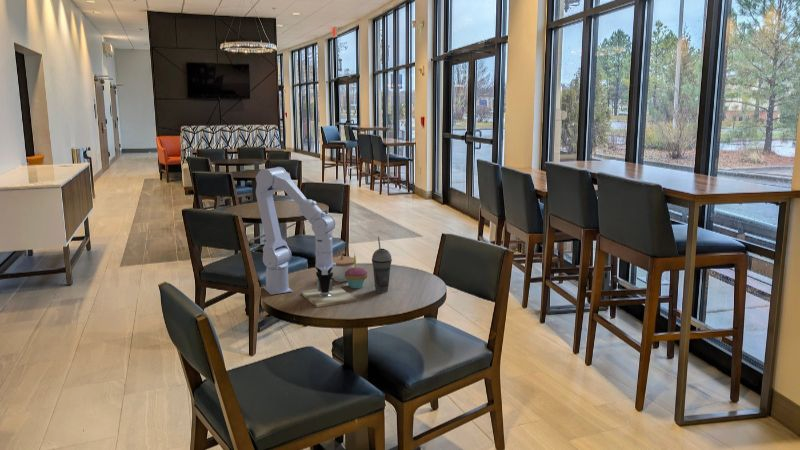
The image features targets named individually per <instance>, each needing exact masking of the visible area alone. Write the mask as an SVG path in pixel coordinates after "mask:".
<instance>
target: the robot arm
mask: <svg viewBox="0 0 800 450" xmlns="http://www.w3.org/2000/svg"><path fill="white" fill-rule="evenodd" d="M255 182H256V188H255V196H256V202H257V206H258V210H259V214H260V219H261V223H262V228H263V233H264V236H265V238H264V239H265V244H264V246H263V247H262V251H263V252H262V253H263V255H262V262H263V264H264V266H265V268H266V269H265V286H263V289H264V290H265V291H266V292H267V293H268V294H269V295H279V294H284V293H285V294H286V293H292V292H293V289H291V288H290V286H289V264H290V263H289V262H290V261H291V259H292V258H293V257H292V251H291V249H290V248H289V246H288V243H287V241H286V240H285V239H284V238H282V234H281V228H280V223H279V219H278V215H277V211H276V205H275V201H274V194H275V193H276V191H277V190H281V191H284V192H285V194H287V195H288V196H289V197H290V198H291V199H292V201H294V203H296V204H297V205H298V207H299V208H298V210H299V211H298V212H300V213H301V215H302V216H304V218H305V219H306V220H307V221H308V222H309V223H310V224H311V230H312V232H313V233H314V238H315V264H314V265H315V267H316V268H315V270H316V272H315V273H316V275H315V276H316V277H317V280H318V279H319V282H320V286H321V291H322V292H328V290H329V284H330V280H332V278H333V277H332V276H333V273H330V272H331V270H332V267H333V266H336V263H333V257H334V256H333V255H334V254H333V231H334V229H335V228H336V222H335V219H334V217H333V216H331V214H326V212H325V211H323V210H322V209H321V208H320V207H319V205H318V204H317V203H318V202H317V201H316V200H313V199H309V198H308V199H307V197H306V196H305V195H304V194H303V192H302V191H301V190H300V188H299V187H298V186H297V185H296V184H295V182H294V181H293V180H292V178H291V175H290V173H289V172H287V171H286V169H285V168H284V167H281V166H277V167H271V168H262V169H261V170H259V171H258V173H257V174H256V176H255Z"/></svg>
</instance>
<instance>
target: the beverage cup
mask: <svg viewBox="0 0 800 450" xmlns="http://www.w3.org/2000/svg"><path fill="white" fill-rule="evenodd" d="M380 240H381V239H380V236H377V242H378V249H376V250H375V251H374V252H373V253H372V255H371V256H372V257H371V263H372V264H371V265H372V269H373V280H374V290H375V292H376V293H378V292H379V294H385V293H387V292H388V291H389V284H390V274H391V266H392V261H393V259H392V255H391V253H390V251H389V250H388V249H386V248H382V247H381V241H380Z"/></svg>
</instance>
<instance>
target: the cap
mask: <svg viewBox="0 0 800 450" xmlns="http://www.w3.org/2000/svg"><path fill="white" fill-rule="evenodd" d="M332 287H333V280H332V279H331V280H330V284H329V290H328V291H331V290H333V288H332ZM316 289H317V290H318V291H319V292H322V291H321V286H320V282H319V279H318V278H317V279H316Z"/></svg>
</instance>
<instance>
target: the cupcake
mask: <svg viewBox="0 0 800 450" xmlns="http://www.w3.org/2000/svg"><path fill="white" fill-rule="evenodd" d="M353 254H354V256H353V258H354V268H350V269H348V270H347V271H346V272H345V278H346V279H347V281H346V282H347V283H348V286H349V288H350V289H360V288H361V289H362V287H363V285H364V282H365V280H366V279H368V271H366V270H365V268H362V267H358V266H357V256H356V255H355V253H353Z"/></svg>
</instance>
